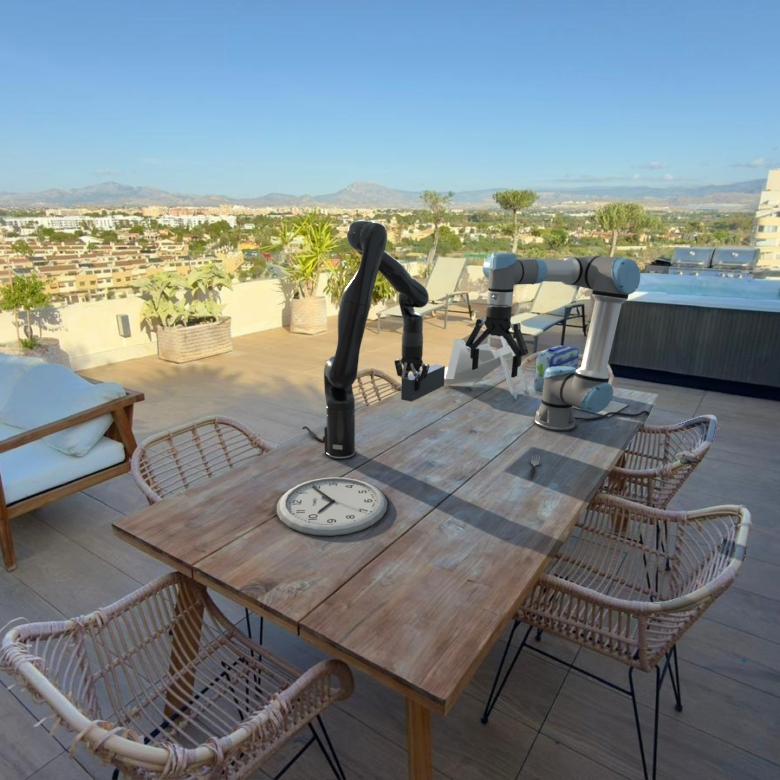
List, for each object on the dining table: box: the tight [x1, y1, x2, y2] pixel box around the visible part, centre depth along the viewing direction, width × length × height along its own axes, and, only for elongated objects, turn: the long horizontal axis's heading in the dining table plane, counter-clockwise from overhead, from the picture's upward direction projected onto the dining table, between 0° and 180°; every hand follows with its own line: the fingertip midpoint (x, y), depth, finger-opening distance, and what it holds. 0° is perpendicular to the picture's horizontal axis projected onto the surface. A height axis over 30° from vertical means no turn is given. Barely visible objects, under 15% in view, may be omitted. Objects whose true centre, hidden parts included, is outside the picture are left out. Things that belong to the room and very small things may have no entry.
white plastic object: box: [444, 336, 531, 400], centre depth 245 cm, size 37×45×31 cm
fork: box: [530, 454, 541, 480], centre depth 166 cm, size 3×16×2 cm, turn 160°
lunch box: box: [533, 345, 580, 393], centre depth 245 cm, size 26×11×21 cm, turn 135°
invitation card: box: [573, 400, 629, 418], centre depth 226 cm, size 21×1×15 cm
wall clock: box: [276, 476, 388, 537], centre depth 142 cm, size 30×2×30 cm
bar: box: [400, 364, 446, 403], centre depth 198 cm, size 24×4×8 cm, turn 146°
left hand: (411, 389), depth 190 cm, fingers closed on bar, 4 cm apart
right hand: (494, 372), depth 165 cm, fingers open, 13 cm apart
